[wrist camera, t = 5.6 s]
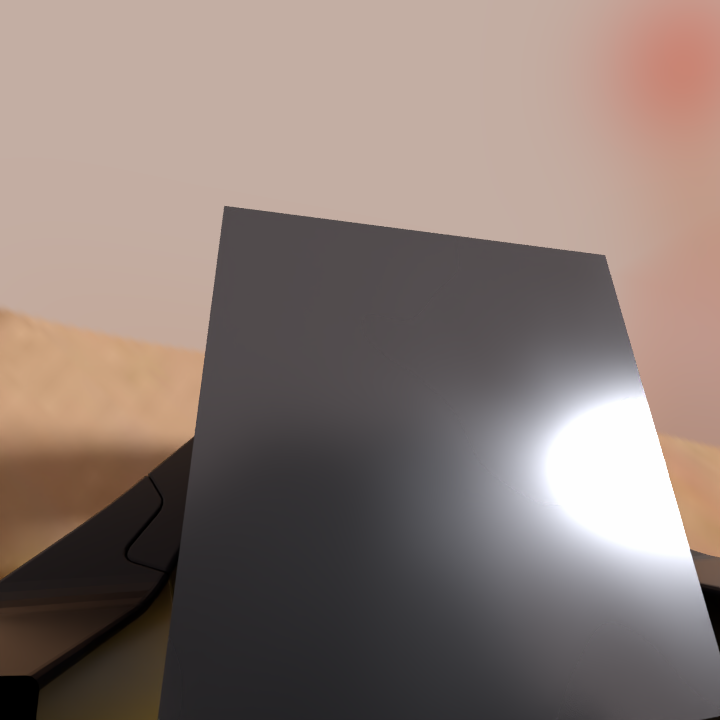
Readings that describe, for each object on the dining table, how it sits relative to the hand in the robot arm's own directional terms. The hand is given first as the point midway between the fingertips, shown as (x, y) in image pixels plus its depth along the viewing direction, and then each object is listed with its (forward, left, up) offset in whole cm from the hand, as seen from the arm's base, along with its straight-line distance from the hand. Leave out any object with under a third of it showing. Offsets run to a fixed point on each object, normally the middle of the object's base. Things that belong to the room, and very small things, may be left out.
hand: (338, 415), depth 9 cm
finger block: (-1, -1, -7) cm, 7 cm away
